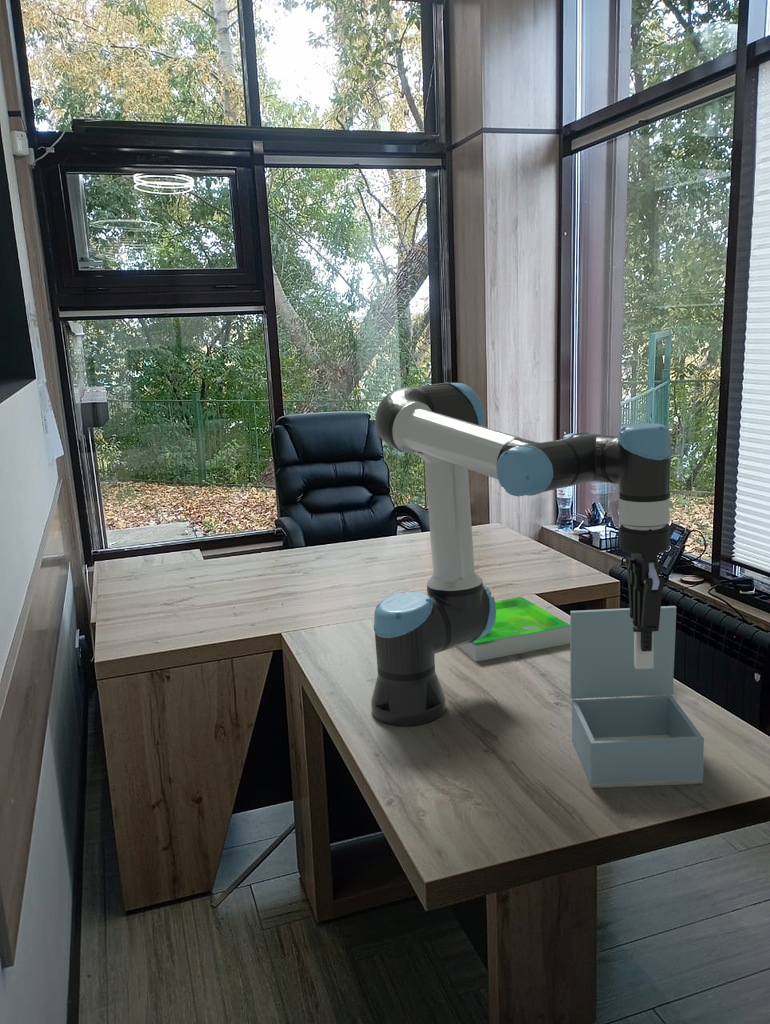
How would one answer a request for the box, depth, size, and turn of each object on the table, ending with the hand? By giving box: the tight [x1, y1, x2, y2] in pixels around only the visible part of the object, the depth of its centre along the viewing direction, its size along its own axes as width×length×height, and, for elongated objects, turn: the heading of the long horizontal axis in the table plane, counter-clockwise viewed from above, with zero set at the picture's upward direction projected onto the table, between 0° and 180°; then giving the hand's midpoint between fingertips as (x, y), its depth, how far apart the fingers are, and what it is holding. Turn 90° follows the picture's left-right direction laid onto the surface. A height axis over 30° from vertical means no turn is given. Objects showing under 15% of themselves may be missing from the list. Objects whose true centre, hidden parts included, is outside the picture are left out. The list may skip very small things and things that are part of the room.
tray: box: [457, 596, 570, 662], centre depth 202 cm, size 25×25×5 cm
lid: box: [569, 605, 677, 700], centre depth 144 cm, size 18×17×1 cm
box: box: [571, 695, 705, 789], centre depth 139 cm, size 18×16×8 cm
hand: (643, 666), depth 130 cm, fingers closed
